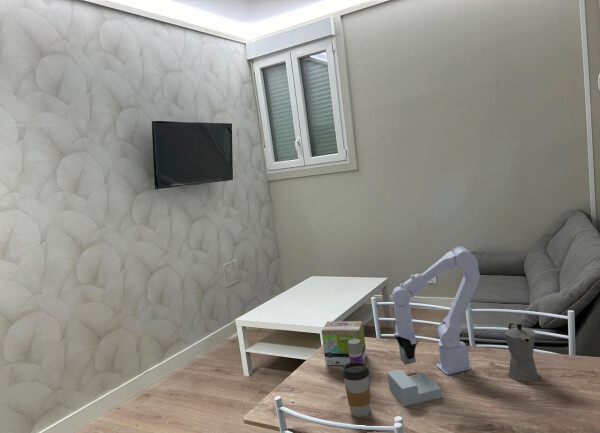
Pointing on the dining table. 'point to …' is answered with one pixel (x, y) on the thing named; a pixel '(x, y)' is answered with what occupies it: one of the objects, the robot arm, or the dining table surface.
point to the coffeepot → (521, 353)
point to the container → (355, 350)
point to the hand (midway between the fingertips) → (407, 355)
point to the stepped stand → (413, 387)
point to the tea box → (341, 340)
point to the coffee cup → (357, 388)
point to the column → (405, 356)
